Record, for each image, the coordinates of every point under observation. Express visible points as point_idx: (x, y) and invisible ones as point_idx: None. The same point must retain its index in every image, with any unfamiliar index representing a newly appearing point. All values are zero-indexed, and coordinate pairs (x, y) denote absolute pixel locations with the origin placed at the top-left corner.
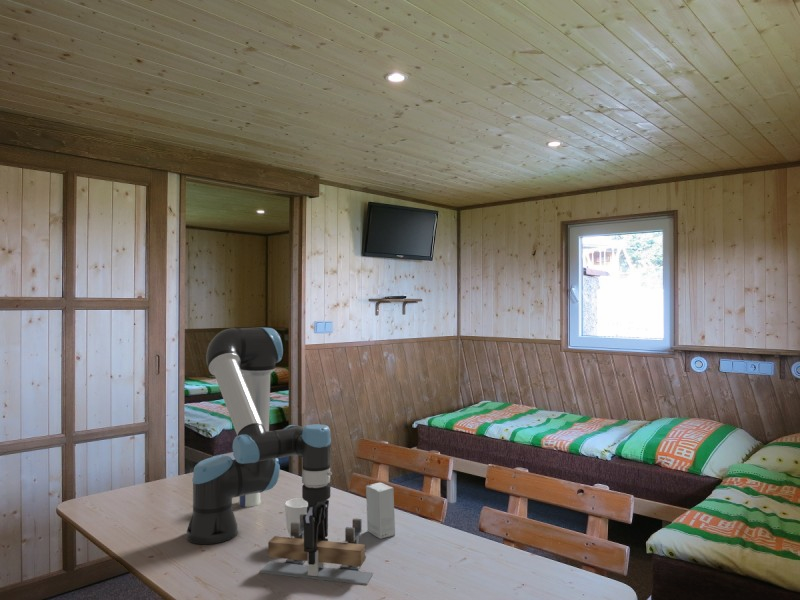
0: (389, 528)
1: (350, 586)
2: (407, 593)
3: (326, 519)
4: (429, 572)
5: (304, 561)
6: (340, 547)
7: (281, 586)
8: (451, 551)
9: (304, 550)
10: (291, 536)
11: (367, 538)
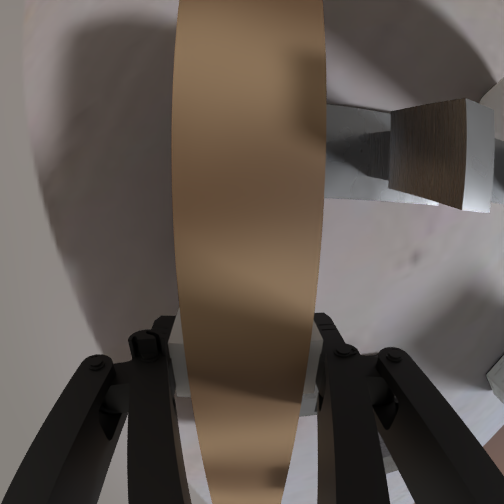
0: (501, 398)
1: (181, 417)
2: (199, 494)
3: (411, 491)
4: (303, 500)
5: (340, 197)
6: (224, 482)
7: (89, 189)
8: (394, 489)
9: (84, 363)
10: (495, 88)
11: (498, 341)
